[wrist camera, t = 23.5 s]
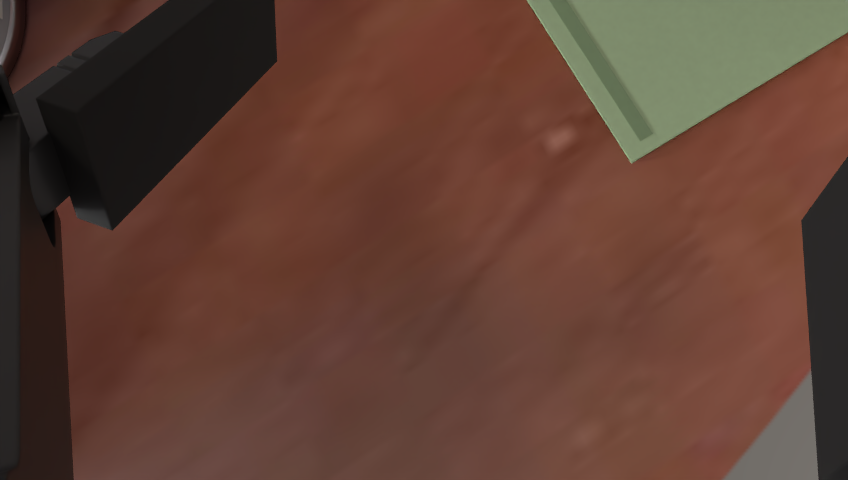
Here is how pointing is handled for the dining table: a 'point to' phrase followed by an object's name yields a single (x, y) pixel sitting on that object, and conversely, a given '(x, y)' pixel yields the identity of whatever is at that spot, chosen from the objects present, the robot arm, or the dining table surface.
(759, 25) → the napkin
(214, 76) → the robot arm
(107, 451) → the dining table surface
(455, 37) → the dining table surface
